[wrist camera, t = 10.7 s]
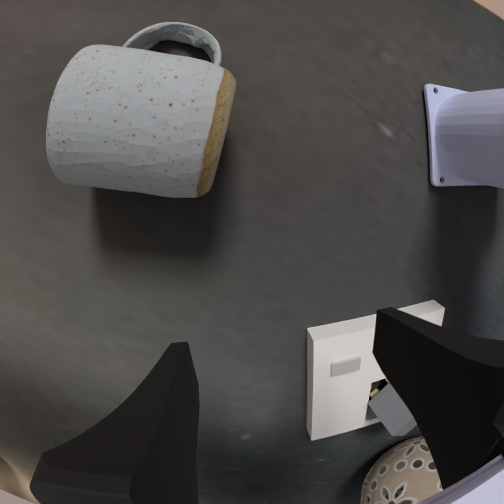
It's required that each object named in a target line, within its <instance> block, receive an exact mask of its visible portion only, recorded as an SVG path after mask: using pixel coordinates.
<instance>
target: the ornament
mask: <svg viewBox="0 0 504 504" xmlns="http://www.w3.org/2000/svg"><path fill="white" fill-rule="evenodd" d="M369 471H370V472H368V474H367V476H366V478H365V480H364V483H365V482H366V485H364V483H363V486H362V490H361V494H362V496H361V504H368V498H369V497H370V502H369V504H417V503H419V502H421V501H423V500H425V499H427V498H429V497H431V496H433V495H435V494H437V493H439V492H441V491H443V490H442V489H441V482H440V478H439V475H438V472H437V469H436V466H435V464H434V461H433V458H432V456H431V453H430V451H429V448H428V446H427V444H426V442H425V439H424V437H423V436H421V437H415V438H412V439H408V440H406V441H404V442H401V443H399V444H397V445H396V446H394V447H392V448H391V449H389V450H388V451H387V452H385V453H384V454H383V455H382V456H381V457H380V458H379V459H378V460H377V461H376V462H375V464H374V465H373V466H372V467H371V469H370V470H369ZM403 487H404V490H403V491H401V490H400V488H403ZM383 488H385V489H383ZM395 493H397V494H398V495H399V496H398V497H397V498H396V499H395ZM387 494H388V495H389V498H388V499H386V498H385V495H387ZM412 500H413V501H415V502H414V503H412Z"/></svg>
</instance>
